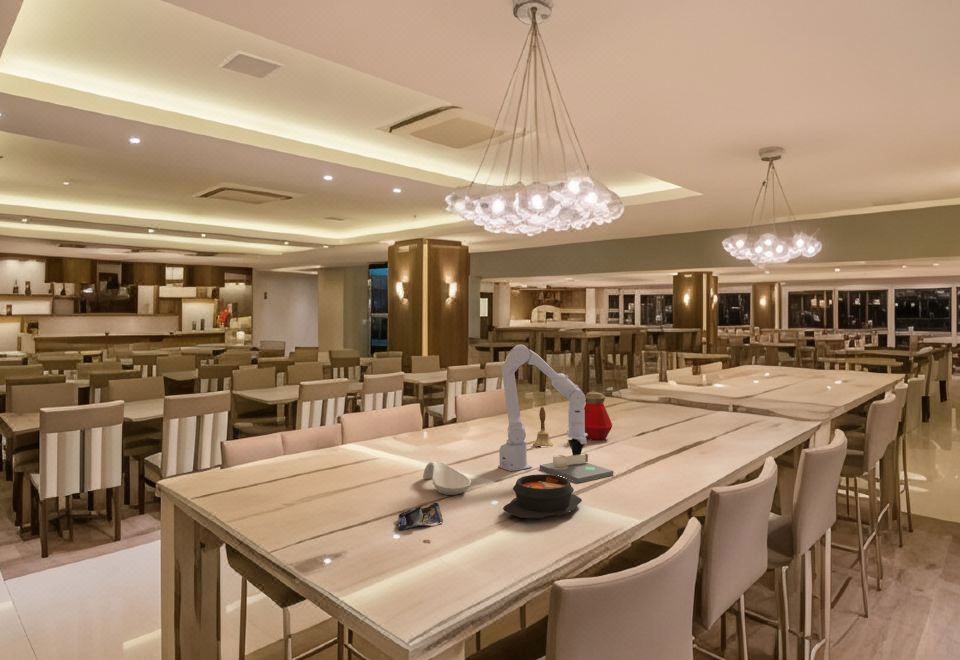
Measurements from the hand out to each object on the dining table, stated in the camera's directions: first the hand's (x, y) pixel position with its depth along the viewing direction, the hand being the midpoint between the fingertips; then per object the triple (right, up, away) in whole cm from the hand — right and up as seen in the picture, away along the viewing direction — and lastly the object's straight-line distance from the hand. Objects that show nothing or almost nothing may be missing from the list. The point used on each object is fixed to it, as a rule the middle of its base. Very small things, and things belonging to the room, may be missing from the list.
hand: (576, 459), depth 207 cm
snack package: (-51, -5, -55) cm, 75 cm away
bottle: (+16, -1, +48) cm, 50 cm away
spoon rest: (-46, -4, -22) cm, 52 cm away
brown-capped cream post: (-3, -1, -3) cm, 4 cm away
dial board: (-1, -3, -6) cm, 7 cm away
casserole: (-17, -4, -45) cm, 48 cm away
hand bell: (-8, -2, +36) cm, 37 cm away
